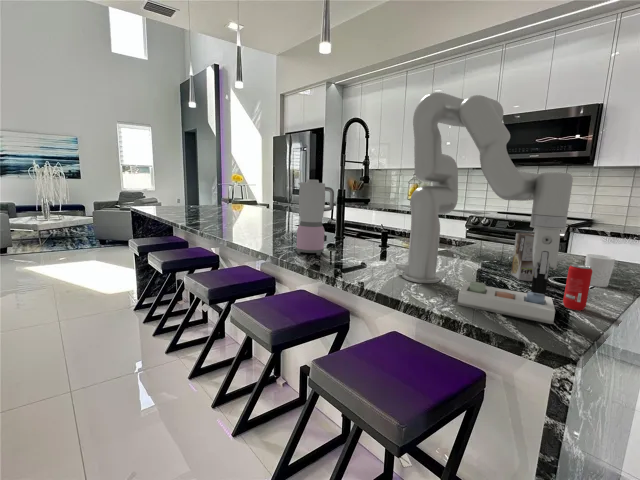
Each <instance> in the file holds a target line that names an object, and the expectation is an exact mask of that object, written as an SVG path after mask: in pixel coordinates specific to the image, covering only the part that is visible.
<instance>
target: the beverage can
mask: <svg viewBox="0 0 640 480" xmlns="http://www.w3.org/2000/svg"><path fill="white" fill-rule="evenodd" d="M591 276H592V267H590V266H586V265H585V264H580V263H577V264H576V263H570V265H569V267H568V271H567V276H566V281H565V283H566V284H565V289H564V293H563V294H564V295H563V300H562V303H563V307H565V308H566V309H569V310H572V311H577V312H580V311H581V310H582V311H584V310H585V308H586V307H587V303H588V302H587V301H588V297H589V292H590V291H589V290H590V286H591V285H590V282H591ZM582 311H581V312H582Z"/></svg>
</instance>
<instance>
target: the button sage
mask: <svg viewBox="0 0 640 480" xmlns="http://www.w3.org/2000/svg"><path fill="white" fill-rule="evenodd" d="M469 283H470V288H469V291H471V292H476V293H481V294H485V287H486V286H487V285H486V284H485V283H483V282H478V281H470V282H469Z"/></svg>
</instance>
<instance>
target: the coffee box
mask: <svg viewBox="0 0 640 480" xmlns="http://www.w3.org/2000/svg"><path fill="white" fill-rule="evenodd" d="M515 233H516V234H515V237H514V238H515V239H514V247H513V253H512V263H511V269H510V275H511V276H513V277H514V278H516V279H518V281H527V282H532V279H533V276H534V270H535V267H534V266H533V258H532V257H533V242H534V234H535V233H531V232H530V233H529V232H515Z"/></svg>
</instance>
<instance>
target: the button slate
mask: <svg viewBox="0 0 640 480" xmlns="http://www.w3.org/2000/svg"><path fill="white" fill-rule="evenodd" d="M526 293H527V297H526V302H531V303H536V304H542V305H544V300H545V296H546V294H539V293H533V292H531V291H527V292H526Z"/></svg>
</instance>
